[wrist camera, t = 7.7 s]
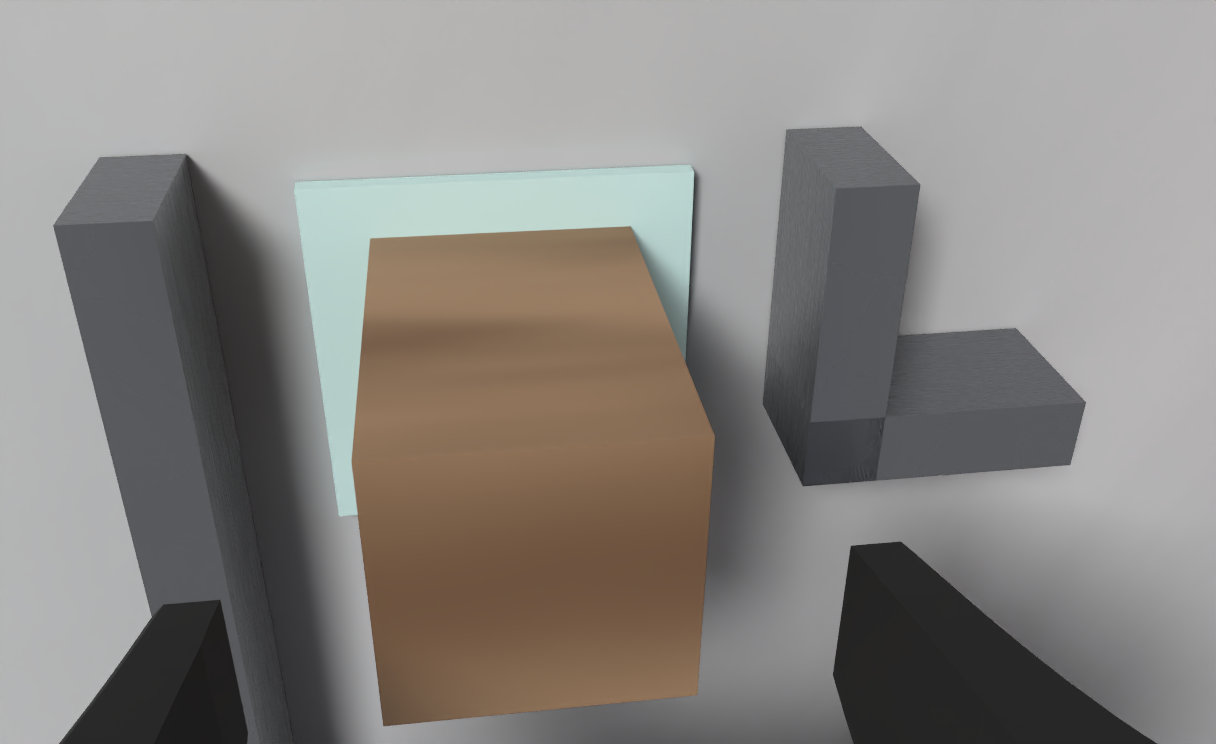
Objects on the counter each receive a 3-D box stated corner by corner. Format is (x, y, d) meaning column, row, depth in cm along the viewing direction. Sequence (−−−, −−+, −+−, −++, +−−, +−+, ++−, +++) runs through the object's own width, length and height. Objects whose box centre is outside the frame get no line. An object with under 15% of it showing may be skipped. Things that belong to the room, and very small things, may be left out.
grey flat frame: (923, 774, 26) (968, 869, 24) (254, 850, 24) (238, 961, 22) (1059, 118, 19) (1143, 174, 16) (100, 157, 17) (52, 225, 15)
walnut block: (625, 440, 20) (697, 695, 15) (392, 456, 20) (383, 725, 15) (630, 226, 18) (715, 436, 13) (370, 238, 18) (351, 461, 13)
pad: (676, 479, 21) (679, 489, 21) (339, 505, 20) (339, 516, 20) (690, 164, 18) (694, 171, 18) (295, 181, 17) (293, 189, 17)
